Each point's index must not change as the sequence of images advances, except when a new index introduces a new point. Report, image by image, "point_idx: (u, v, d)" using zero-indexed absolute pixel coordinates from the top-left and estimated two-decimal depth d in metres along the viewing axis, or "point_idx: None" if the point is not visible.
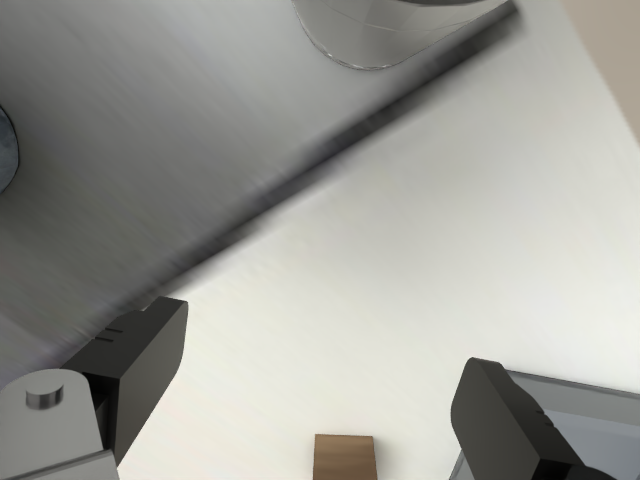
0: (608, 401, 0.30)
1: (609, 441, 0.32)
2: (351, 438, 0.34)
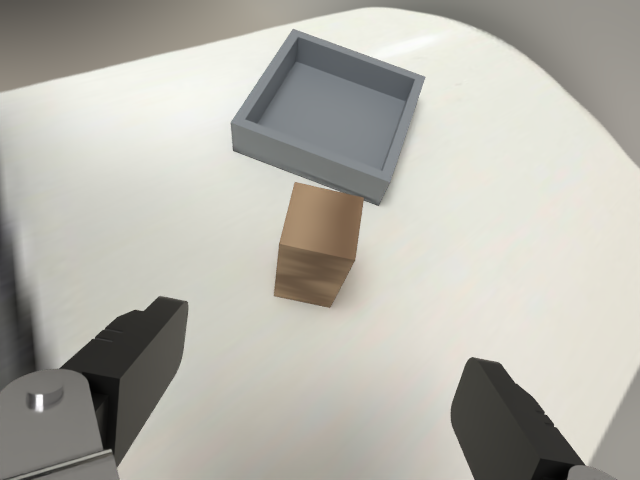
0: None
1: (311, 92, 0.45)
2: None
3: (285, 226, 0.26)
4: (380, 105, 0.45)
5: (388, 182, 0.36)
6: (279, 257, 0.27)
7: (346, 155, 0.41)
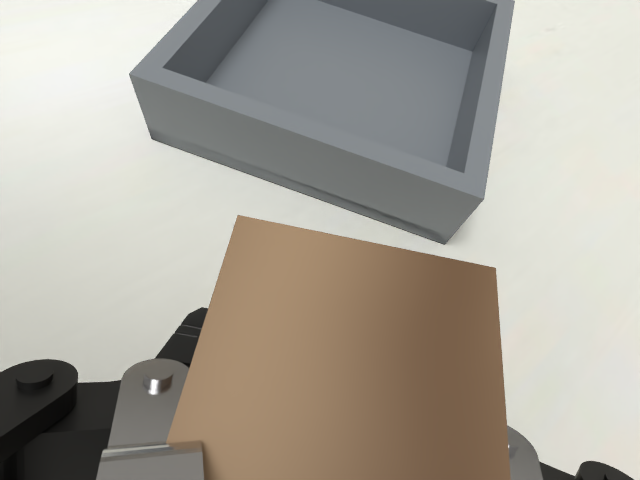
0: None
1: (305, 35, 0.25)
2: None
3: (179, 428, 0.06)
4: (430, 57, 0.25)
5: (479, 199, 0.16)
6: None
7: None
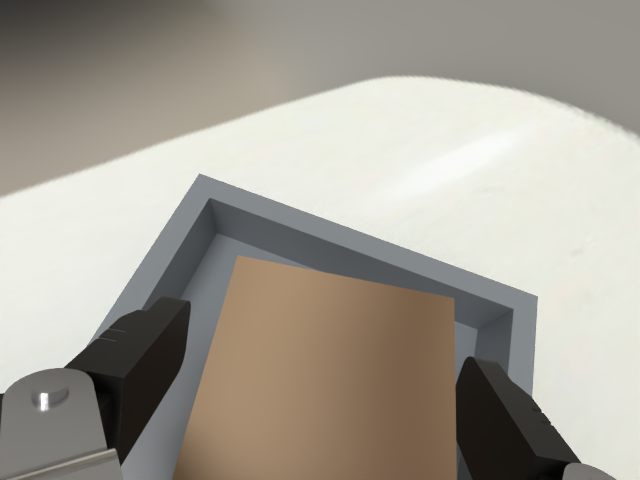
0: None
1: None
2: None
3: (192, 434, 0.07)
4: None
5: None
6: None
7: None
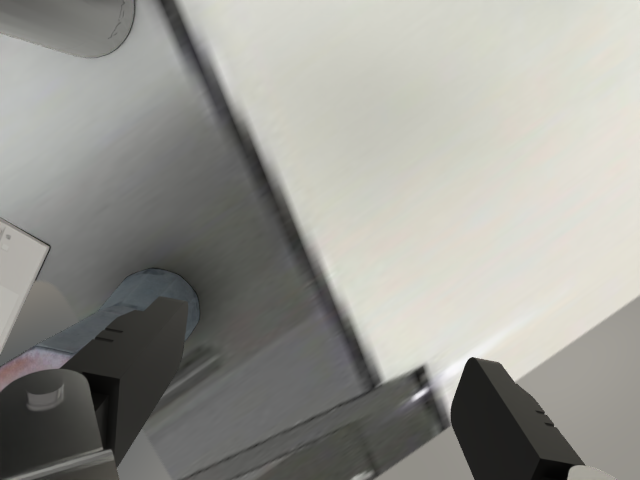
0: None
1: None
2: None
3: None
4: None
5: None
6: None
7: None
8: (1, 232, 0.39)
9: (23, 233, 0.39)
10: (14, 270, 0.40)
